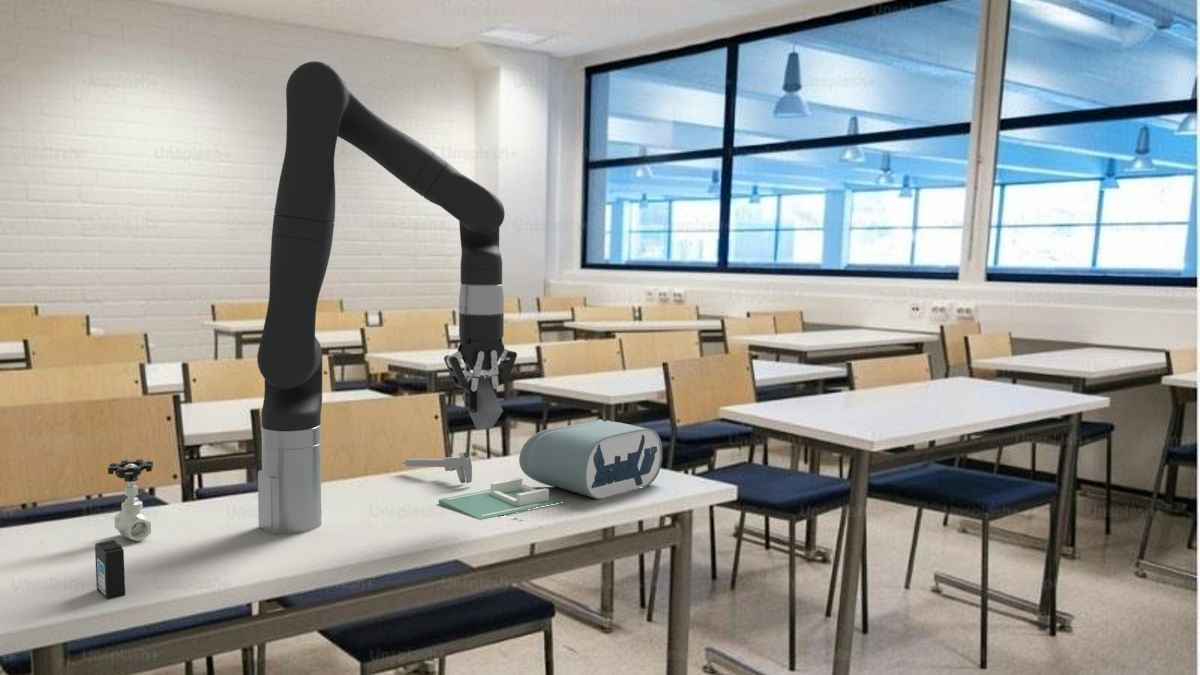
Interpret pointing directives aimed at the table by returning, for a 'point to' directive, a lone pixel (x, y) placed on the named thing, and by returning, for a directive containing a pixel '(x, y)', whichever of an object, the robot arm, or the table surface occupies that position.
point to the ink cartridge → (110, 569)
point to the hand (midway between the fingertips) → (481, 410)
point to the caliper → (447, 465)
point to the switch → (485, 406)
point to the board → (500, 500)
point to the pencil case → (593, 457)
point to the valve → (131, 500)
